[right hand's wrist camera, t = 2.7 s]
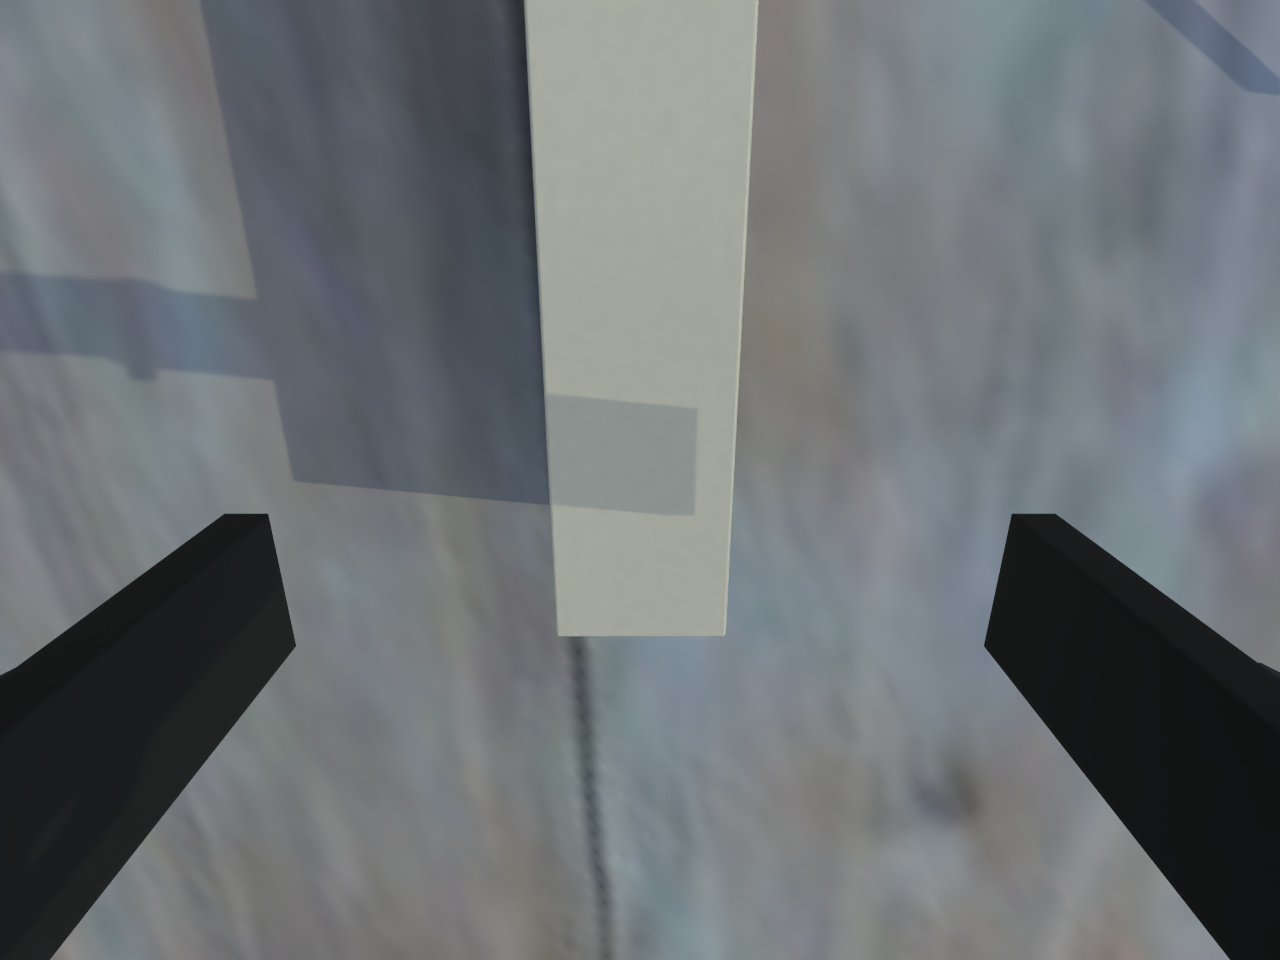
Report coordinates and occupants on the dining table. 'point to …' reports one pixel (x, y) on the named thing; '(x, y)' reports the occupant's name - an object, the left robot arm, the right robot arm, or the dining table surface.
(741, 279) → the bar
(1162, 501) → the dining table surface
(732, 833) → the dining table surface
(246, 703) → the right robot arm
